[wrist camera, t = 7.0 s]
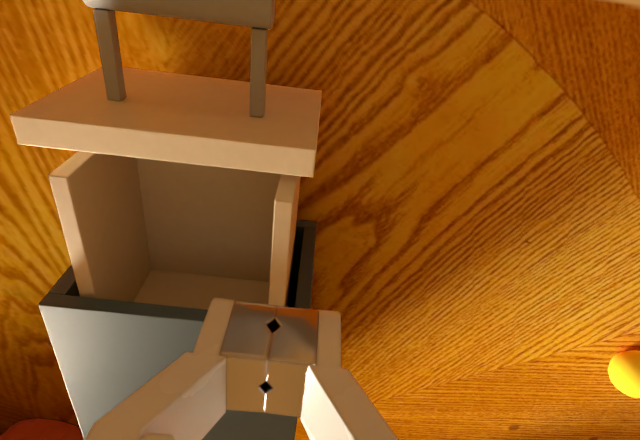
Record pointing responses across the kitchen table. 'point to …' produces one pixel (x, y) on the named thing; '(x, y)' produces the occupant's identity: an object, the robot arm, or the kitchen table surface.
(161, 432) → the robot arm
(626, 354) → the light bulb
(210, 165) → the wooden pull-out drawer
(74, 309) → the drawer cabinet
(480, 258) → the kitchen table surface
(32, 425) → the potted plant
